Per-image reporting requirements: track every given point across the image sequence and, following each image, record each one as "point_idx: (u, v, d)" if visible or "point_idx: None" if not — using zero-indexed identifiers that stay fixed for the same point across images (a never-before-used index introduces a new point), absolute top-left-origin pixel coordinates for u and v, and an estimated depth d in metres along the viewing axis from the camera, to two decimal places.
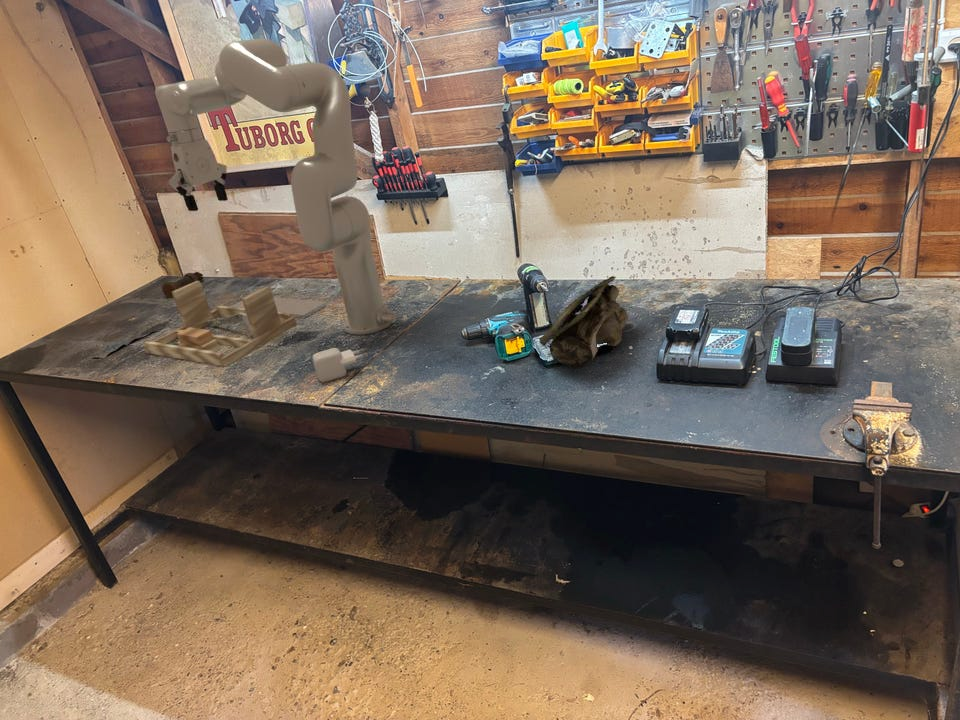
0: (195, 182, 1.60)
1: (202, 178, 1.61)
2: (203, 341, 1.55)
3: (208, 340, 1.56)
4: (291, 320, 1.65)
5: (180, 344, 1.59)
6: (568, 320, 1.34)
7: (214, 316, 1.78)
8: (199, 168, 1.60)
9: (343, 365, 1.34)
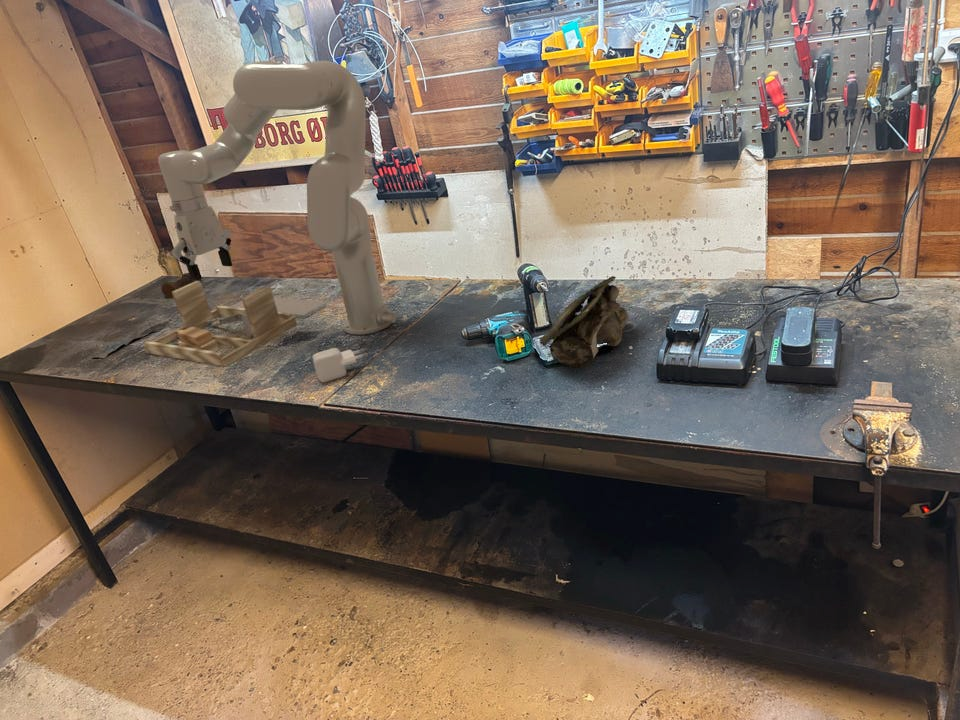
0: (199, 251, 1.53)
1: (206, 246, 1.55)
2: (202, 341, 1.55)
3: (207, 341, 1.56)
4: (291, 320, 1.65)
5: (180, 344, 1.59)
6: (568, 320, 1.34)
7: (214, 316, 1.78)
8: (203, 237, 1.54)
9: (343, 365, 1.34)
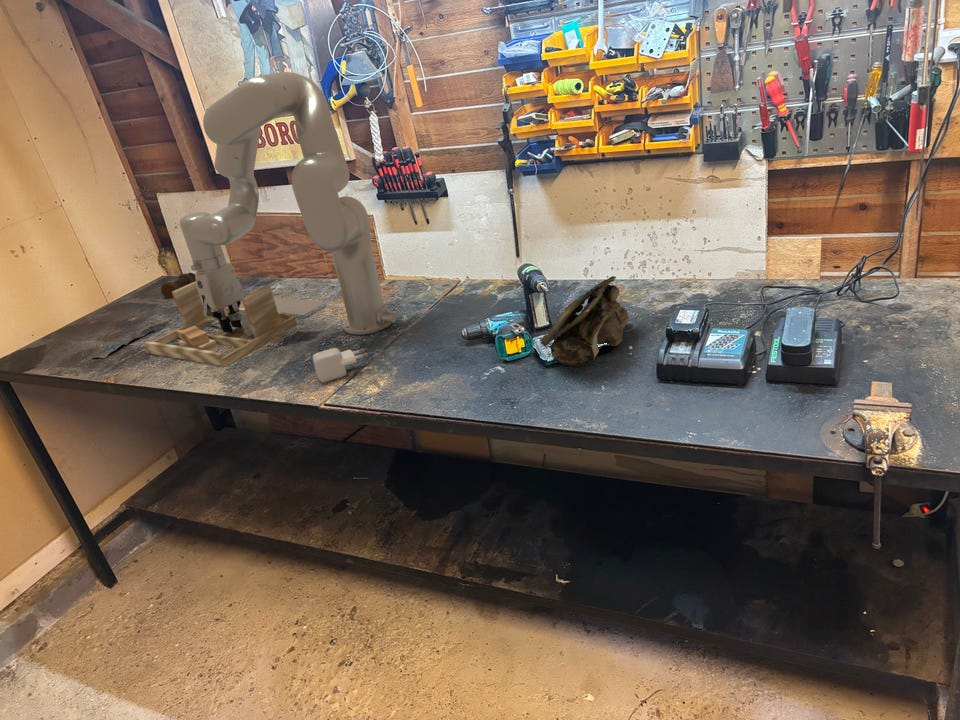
0: (219, 307, 1.60)
1: (225, 302, 1.61)
2: (198, 343, 1.55)
3: (203, 342, 1.56)
4: (291, 320, 1.65)
5: (181, 344, 1.59)
6: (569, 320, 1.34)
7: None
8: (222, 293, 1.60)
9: (343, 365, 1.34)
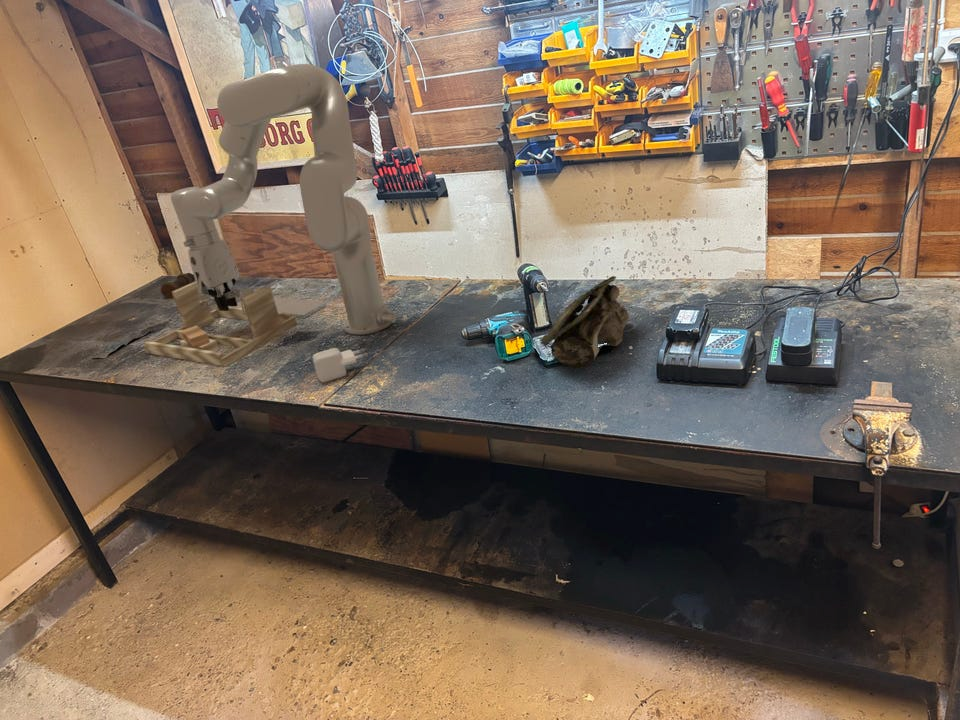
0: (213, 284, 1.57)
1: (220, 279, 1.58)
2: (197, 343, 1.55)
3: (203, 342, 1.56)
4: (291, 320, 1.65)
5: (182, 344, 1.60)
6: (569, 320, 1.33)
7: (214, 316, 1.78)
8: (216, 270, 1.57)
9: (343, 365, 1.34)
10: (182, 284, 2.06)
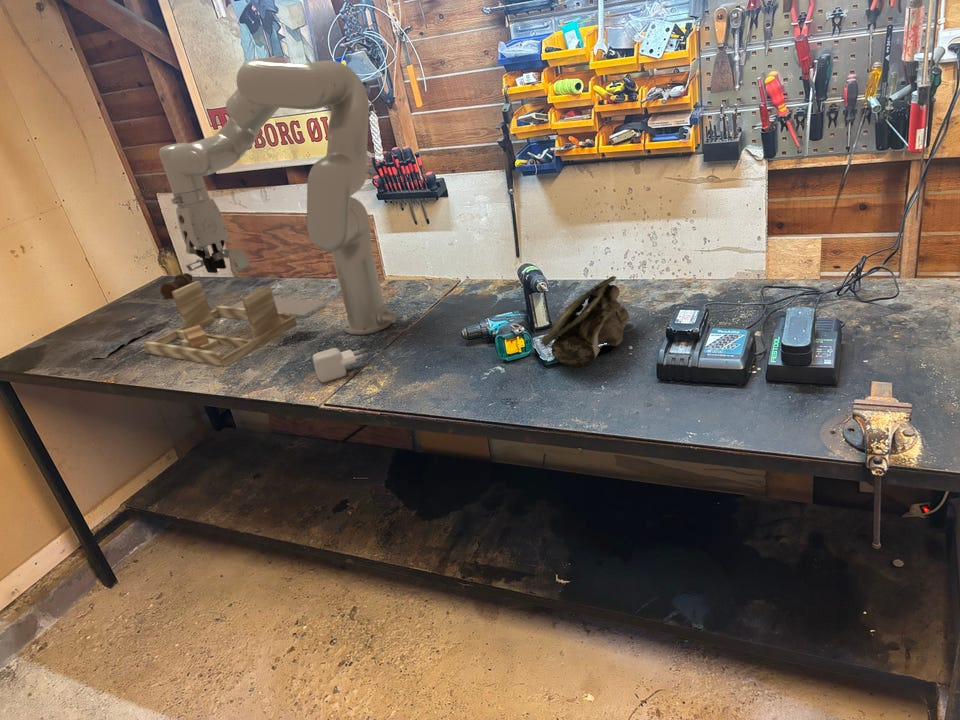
0: (202, 244, 1.53)
1: (209, 239, 1.55)
2: (196, 343, 1.55)
3: (202, 343, 1.55)
4: (291, 320, 1.65)
5: (183, 343, 1.60)
6: (569, 320, 1.33)
7: (214, 316, 1.78)
8: (205, 229, 1.54)
9: (343, 365, 1.34)
10: (181, 284, 2.06)
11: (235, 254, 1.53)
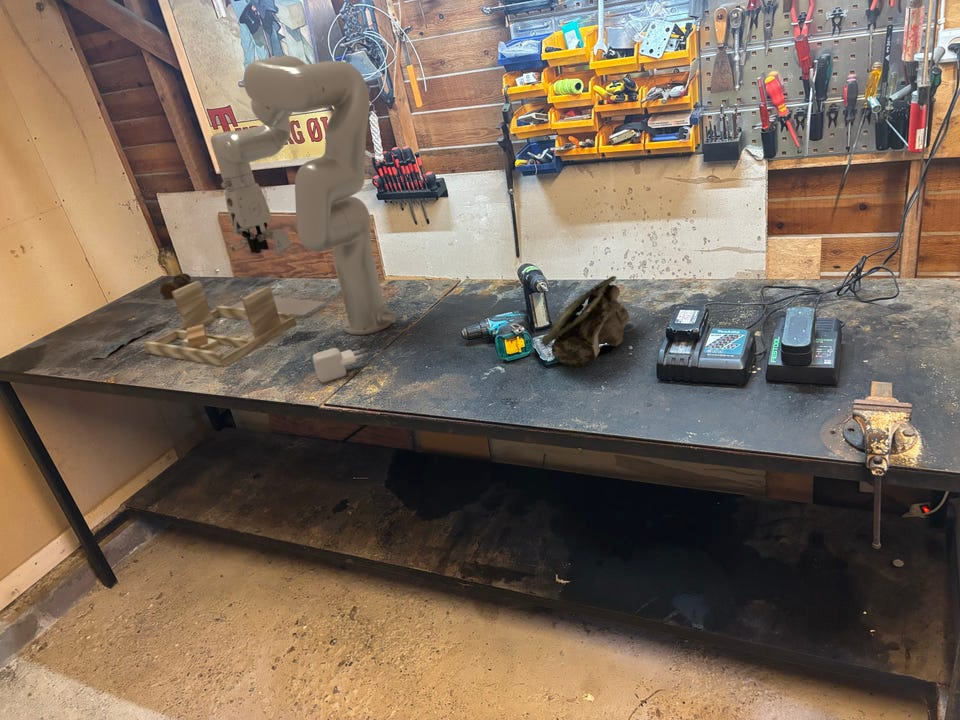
0: (248, 225, 1.64)
1: (254, 221, 1.66)
2: (195, 344, 1.55)
3: (201, 343, 1.55)
4: (291, 320, 1.65)
5: (184, 343, 1.60)
6: (569, 320, 1.33)
7: (214, 316, 1.78)
8: (251, 212, 1.65)
9: (343, 365, 1.34)
10: (180, 284, 2.06)
11: (279, 235, 1.65)
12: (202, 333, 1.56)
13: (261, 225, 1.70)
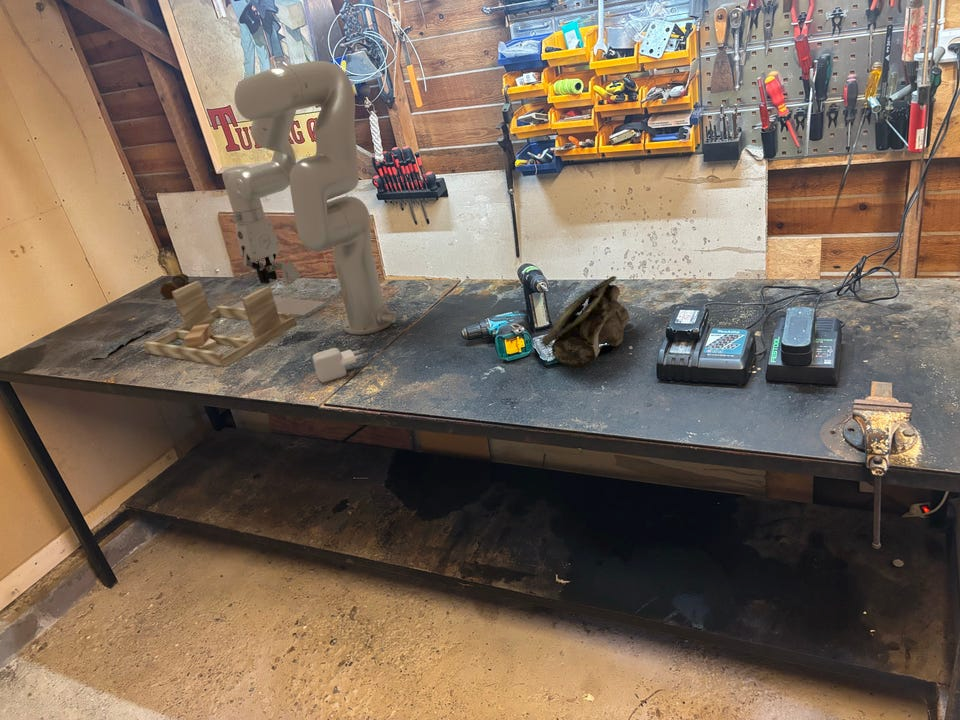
0: (257, 258, 1.69)
1: (263, 253, 1.70)
2: (191, 344, 1.55)
3: (197, 344, 1.55)
4: (291, 320, 1.65)
5: None
6: (569, 320, 1.33)
7: (214, 316, 1.78)
8: (261, 244, 1.69)
9: (343, 365, 1.34)
10: (180, 284, 2.06)
11: (288, 267, 1.69)
12: (199, 334, 1.55)
13: (270, 256, 1.74)
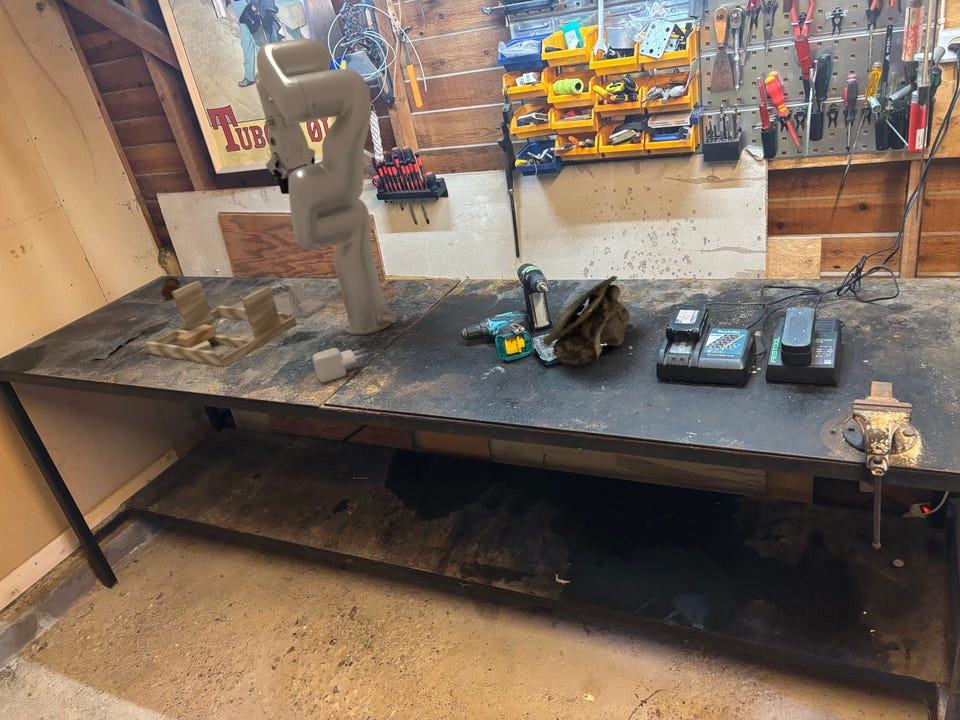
0: (290, 166, 1.64)
1: (296, 162, 1.66)
2: (181, 344, 1.56)
3: (185, 346, 1.55)
4: (291, 320, 1.65)
5: None
6: (570, 320, 1.33)
7: (214, 316, 1.78)
8: (293, 152, 1.65)
9: (343, 365, 1.34)
10: (176, 285, 2.05)
11: (295, 289, 1.71)
12: (188, 337, 1.55)
13: (307, 163, 1.71)
